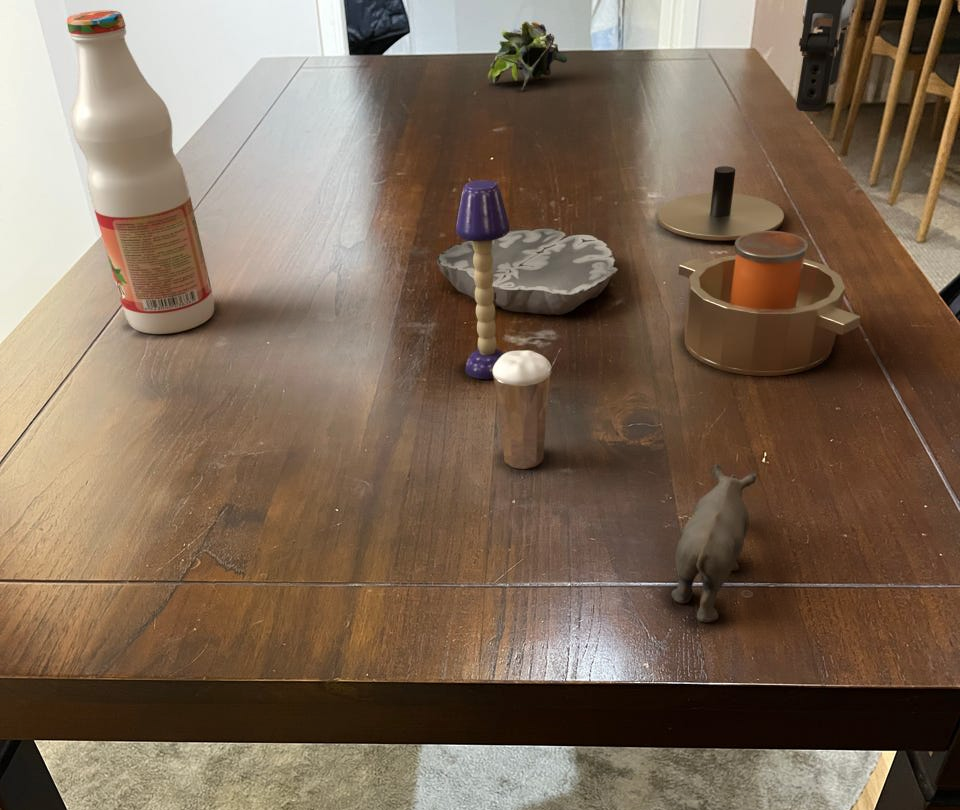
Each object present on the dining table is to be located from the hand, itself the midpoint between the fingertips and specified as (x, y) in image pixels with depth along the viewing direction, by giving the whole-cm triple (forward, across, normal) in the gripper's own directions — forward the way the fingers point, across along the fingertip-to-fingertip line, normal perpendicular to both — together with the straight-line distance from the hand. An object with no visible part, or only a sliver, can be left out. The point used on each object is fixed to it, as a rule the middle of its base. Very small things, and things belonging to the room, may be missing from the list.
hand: (816, 96), depth 81 cm
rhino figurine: (+22, -35, -1) cm, 41 cm away
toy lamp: (+22, -11, +25) cm, 35 cm away
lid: (+21, +32, +11) cm, 40 cm away
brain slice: (+22, +9, +27) cm, 36 cm away
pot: (+22, +1, +2) cm, 22 cm away
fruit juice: (+22, -9, +62) cm, 67 cm away
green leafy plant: (+22, +91, +56) cm, 109 cm away
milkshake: (+22, -25, +16) cm, 37 cm away
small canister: (+21, +1, +2) cm, 21 cm away
